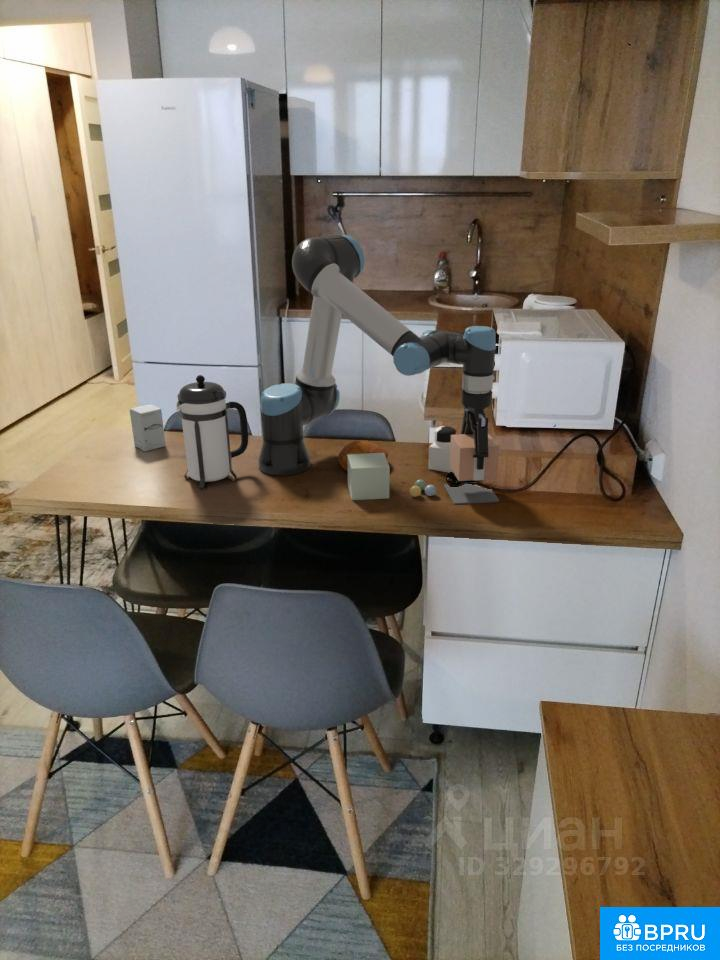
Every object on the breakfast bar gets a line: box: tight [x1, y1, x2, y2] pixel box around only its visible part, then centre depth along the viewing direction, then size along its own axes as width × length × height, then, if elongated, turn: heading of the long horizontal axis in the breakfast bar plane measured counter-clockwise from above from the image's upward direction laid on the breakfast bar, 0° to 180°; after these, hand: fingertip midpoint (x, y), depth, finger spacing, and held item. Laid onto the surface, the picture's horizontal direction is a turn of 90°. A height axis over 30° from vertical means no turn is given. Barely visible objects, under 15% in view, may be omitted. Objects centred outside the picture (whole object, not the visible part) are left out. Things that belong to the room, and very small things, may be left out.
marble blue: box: [424, 484, 437, 497], centre depth 183 cm, size 3×3×3 cm
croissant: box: [338, 439, 389, 472], centre depth 202 cm, size 14×16×8 cm
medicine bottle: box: [428, 425, 457, 474], centre depth 199 cm, size 7×7×12 cm
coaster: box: [443, 482, 500, 505], centre depth 185 cm, size 12×12×1 cm
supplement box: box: [129, 403, 167, 453], centre depth 216 cm, size 7×7×13 cm
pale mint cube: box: [347, 453, 391, 501], centre depth 185 cm, size 10×10×9 cm
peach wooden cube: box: [450, 433, 500, 482], centre depth 180 cm, size 10×10×9 cm
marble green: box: [414, 478, 427, 491], centre depth 186 cm, size 3×3×3 cm
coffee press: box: [174, 374, 249, 490], centre depth 190 cm, size 17×16×30 cm
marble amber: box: [409, 485, 422, 498], centre depth 183 cm, size 3×3×3 cm
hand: (472, 471), depth 182 cm, fingers closed on peach wooden cube, 10 cm apart
